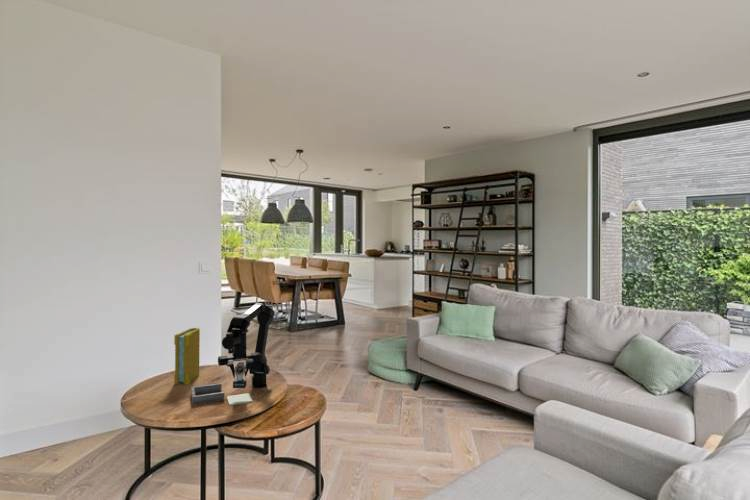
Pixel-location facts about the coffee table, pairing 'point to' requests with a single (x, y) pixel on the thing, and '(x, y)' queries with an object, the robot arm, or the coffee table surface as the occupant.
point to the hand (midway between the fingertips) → (239, 377)
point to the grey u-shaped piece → (206, 397)
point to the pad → (239, 399)
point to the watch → (239, 376)
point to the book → (186, 355)
